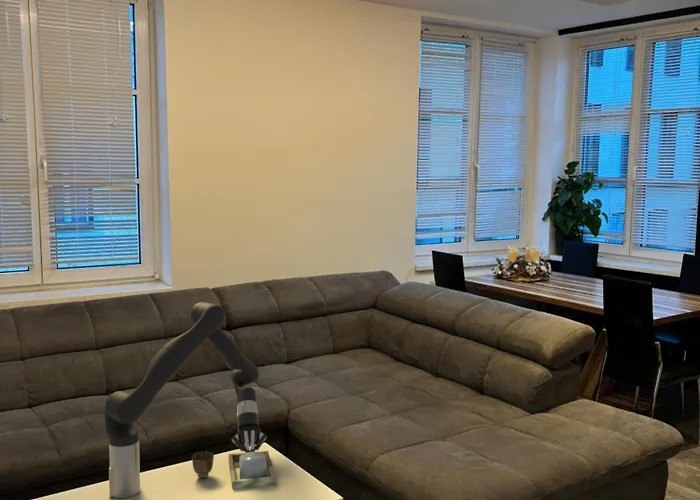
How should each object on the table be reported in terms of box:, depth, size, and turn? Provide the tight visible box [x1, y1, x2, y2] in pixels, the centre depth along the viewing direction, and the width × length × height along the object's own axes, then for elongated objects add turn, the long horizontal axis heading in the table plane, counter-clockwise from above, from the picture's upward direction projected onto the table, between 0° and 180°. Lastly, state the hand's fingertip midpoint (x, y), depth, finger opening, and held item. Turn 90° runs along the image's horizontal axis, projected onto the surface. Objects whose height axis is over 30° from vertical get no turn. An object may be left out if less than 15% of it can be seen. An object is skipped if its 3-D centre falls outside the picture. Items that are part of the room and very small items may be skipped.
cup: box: [191, 450, 215, 480], centre depth 232 cm, size 8×7×8 cm
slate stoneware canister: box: [239, 451, 267, 479], centre depth 232 cm, size 9×9×8 cm
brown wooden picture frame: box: [228, 450, 277, 490], centre depth 237 cm, size 14×23×2 cm, turn 13°
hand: (250, 461), depth 237 cm, fingers closed
